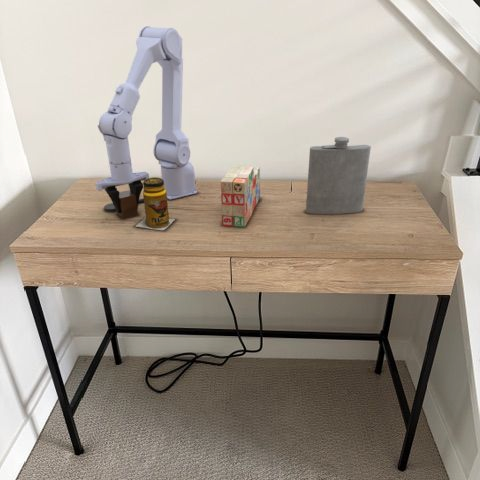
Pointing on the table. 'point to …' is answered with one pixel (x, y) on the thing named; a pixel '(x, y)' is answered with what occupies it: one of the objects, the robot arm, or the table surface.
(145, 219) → the condiment
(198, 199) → the table surface
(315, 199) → the hip flask
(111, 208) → the serving spoon
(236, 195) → the stack of blocks
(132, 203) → the walnut block
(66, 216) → the table surface
